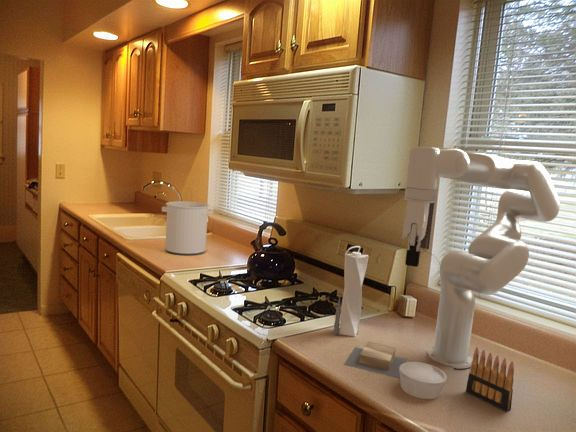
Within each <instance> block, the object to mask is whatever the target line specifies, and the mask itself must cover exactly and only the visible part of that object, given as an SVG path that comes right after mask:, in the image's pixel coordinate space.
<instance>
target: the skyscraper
mask: <svg viewBox="0 0 576 432" xmlns="http://www.w3.org/2000/svg"><path fill="white" fill-rule="evenodd" d="M355 248H358V250H357V251H352V252H351V253H348V252H350V251H349V250H352V249H355ZM361 249H362V248H361V246H360V245H354V246H351V247H348V249H347V250H346V251H345V253H344V271H343V272H344V273H343V275H344V287H343V288H344V289H343V295H342V300H341V297H340V296H338V302H337V306H336V307H337V309H336V310H335V316H334V317H335V318H334V325H333V326H334V327H333V335H334V336H339V335H345V336H350V337H355V338H356V337H357V336H358V334H359V327H360V322H361V316H362V315H361V314H362V306H363V305H362V304H363V294H362V293H363V291H362V290H363V289H362V287H363V283H364V280H365V276H366V272H367V267H368V263H369V258H370V256H369V255H368V254H362V253H361V252H360V250H361Z"/></svg>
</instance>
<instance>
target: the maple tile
mask: <svg viewBox="0 0 576 432" xmlns="http://www.w3.org/2000/svg"><path fill="white" fill-rule="evenodd" d="M362 349H363V350H362V352H361V354H360V360H359V363H363V364H367V365H371V366H375V367H379V368H383V369H387V370H389V368H390V366H391V363H392V361H393V359H394V357H395V356H396V351H397V348H396V347H394V346H390V345H385V344H382V343H376V342H372V341H367V343H366V344H365V346H364V348H362Z"/></svg>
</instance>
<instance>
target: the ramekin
mask: <svg viewBox="0 0 576 432" xmlns="http://www.w3.org/2000/svg"><path fill="white" fill-rule="evenodd" d="M399 373H400V378H399V379H400V380H399V381H400V383H399V384H400V388H401V389H402V390H403V391H404V392H405V393H406V394H408V395H409V396H412V397H414V398H418V399H422V400H423V399H424V400H434V399H437V398H439V397H440V396H441V395H442V392H443V389H444V387H445V384H446V383H447V379H448V377H447V374H446V373H445V372H444V371H443V370H442V369H440V368H439V367H437V366H435V365H432V364H429V363H426V362H421V361H406V363H403V364H401V365H400V367H399Z"/></svg>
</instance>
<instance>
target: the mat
mask: <svg viewBox="0 0 576 432" xmlns="http://www.w3.org/2000/svg"><path fill="white" fill-rule="evenodd" d="M363 349H364V348H361V347H356V346H354V348H353V350H352V351H351V353H350V354H349V356H348V357H347V359H346V360H345V361H344V363H343V365H345V366H348V367H352V368H355V369H360V370H364V371H367V372H372V373H376V374H379V375H380V374H381V375H385V376H388V377H391V378H396V379H400V373H399V367H400V365H401V364H403V363H406V362H408V358H404V357H400V356H396V355H395V357H394V359H393V361H392V363H391V366H390V368H389V370H387V369H383V368H379V367H375V366H371V365H367V364H363V363H359V360H360V354H361V352H362V350H363Z"/></svg>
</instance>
